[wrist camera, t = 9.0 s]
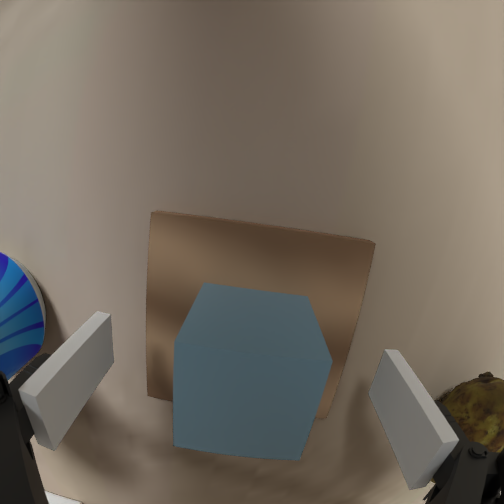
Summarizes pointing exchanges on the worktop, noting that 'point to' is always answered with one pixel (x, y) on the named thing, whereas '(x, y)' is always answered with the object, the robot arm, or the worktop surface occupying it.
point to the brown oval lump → (479, 410)
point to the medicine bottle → (59, 499)
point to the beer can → (19, 316)
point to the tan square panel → (250, 282)
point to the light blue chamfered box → (248, 373)
